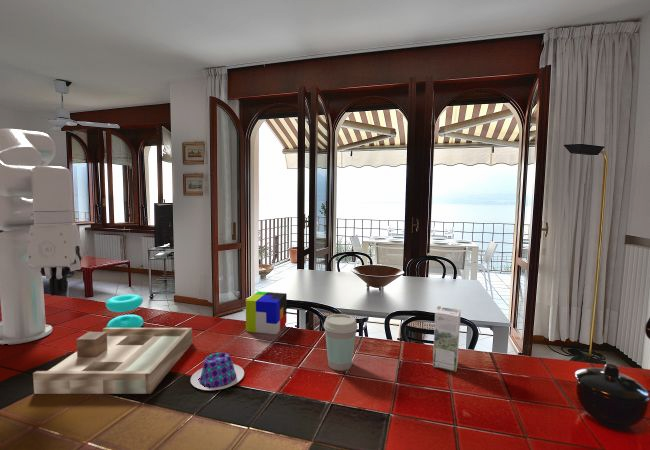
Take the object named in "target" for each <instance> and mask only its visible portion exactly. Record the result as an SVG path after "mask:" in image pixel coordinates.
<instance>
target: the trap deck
mask: <svg viewBox="0 0 650 450" xmlns="http://www.w3.org/2000/svg"><path fill="white" fill-rule="evenodd" d="M102 332H107V350H106V351H104V352H103V353H101V354H100V355H99V356H97V357H77V351H75V352H74V353H72V354H70V355H69V356H67V357H66V358H65V359H63V360H62V361H60V362H59V363H57V364H56V365H54V366H53V367H51V368H50V369H48V370H36V371H34V372H32V379H33V394H34V395H35V394H38V395H39V394H40V395H43V394H44V395H45V394H46V395H48V394H49V395H56V394H58V395H60V394H63V395H66V394H72V395H73V394H76V395H77V394H82V395H84V394H90V395H91V394H99V395H100V394H101V395H102V394H104V395H105V394H109V395H111V394H113V395H114V394H120V395H121V394H127V395H129V394H134V395H137V394H139V395H140V394H142V395H144V394H146V395H147V394H152V393H153V392H154V390H155V389H156V388H157V387H158V386H159V384H160V383H161V382H162V381H163V379H164V378H165V377H166V375H168V374H169V372H170V371H171V370H172V369H173V367H174V366H175V364H177V362H178V361H179V360H180V359H181V357H183V355H184V354H185V352H187V350H188V349H189V348H190V347H191V345H192V344H193V328H192V327H140V328H107V327H103V328H102Z"/></svg>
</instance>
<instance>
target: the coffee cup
mask: <svg viewBox="0 0 650 450" xmlns="http://www.w3.org/2000/svg"><path fill="white" fill-rule="evenodd" d="M358 328H359V327H358V323H357V319H356V318H355V317H354V316H352V315H350V314H344V313H335V314H331V315H328V316H326V318H325V321H324V323H323V329H324V333H325V334H324V335H325V343H326V344H325V345H326V351H327V354H326V355H327V361H328V367H329V368H330V369H332V370H335V371H347V370H349V369H351V367H352V365H353V363H352V362H353V357H354V356H353V355H354V349H355V341H356V334H357V330H358Z"/></svg>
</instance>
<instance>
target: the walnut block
mask: <svg viewBox="0 0 650 450" xmlns="http://www.w3.org/2000/svg"><path fill="white" fill-rule="evenodd" d="M106 350H107V332H103V331H88V332H86V333H84V334H83V335H81V336H80V337H78V338H76V352H77V357H97V356H99V355H100V354H101V353H103V352H104V351H106Z"/></svg>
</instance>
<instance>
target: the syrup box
mask: <svg viewBox="0 0 650 450" xmlns="http://www.w3.org/2000/svg"><path fill="white" fill-rule="evenodd" d="M461 311H462V310H461V309H460V308H454V307H447V306H440V305H438V306H437V307H436V310H435V312H434V331H433V332H434V333H433V353H432V355H433V356H432V357H433V358H432V367H433V368H437V369H440V370H445V371H449V372H457V368H458V365H459V364H458V363H459V343H460V328H461V327H460V325H461Z"/></svg>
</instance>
